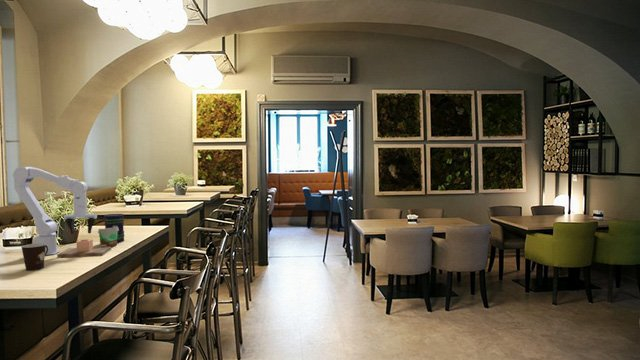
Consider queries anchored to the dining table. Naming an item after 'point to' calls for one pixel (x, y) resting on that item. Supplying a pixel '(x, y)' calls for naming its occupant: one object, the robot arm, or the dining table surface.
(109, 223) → the storage jar
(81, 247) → the collar
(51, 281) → the dining table surface
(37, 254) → the coffee mug
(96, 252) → the board
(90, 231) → the robot arm
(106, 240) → the food container
